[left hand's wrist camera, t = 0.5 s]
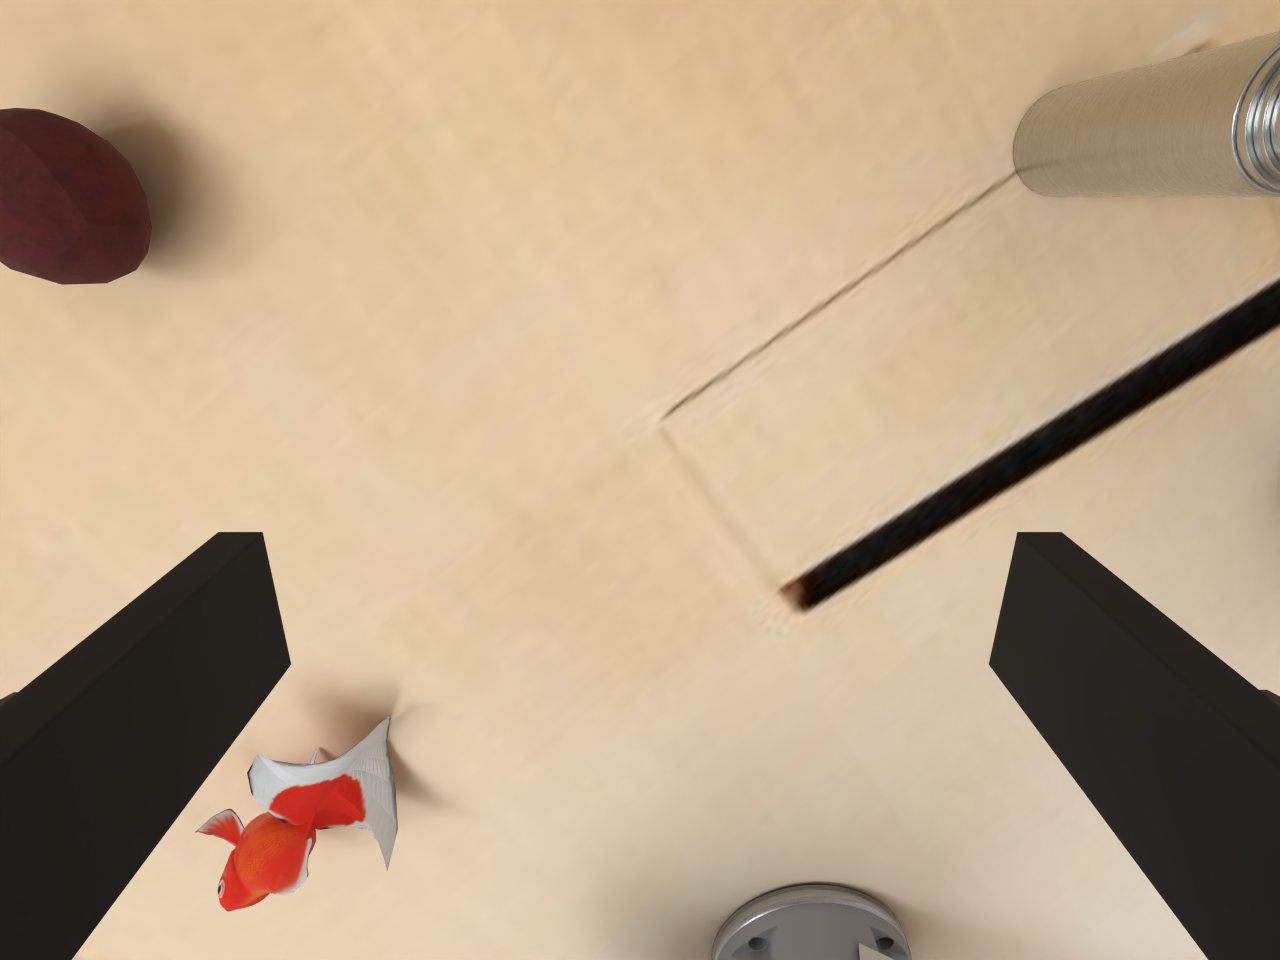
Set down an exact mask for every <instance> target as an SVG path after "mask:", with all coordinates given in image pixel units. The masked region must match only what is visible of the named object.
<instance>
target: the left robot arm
mask: <svg viewBox="0 0 1280 960" xmlns="http://www.w3.org/2000/svg"><path fill="white" fill-rule="evenodd" d="M290 665H291V661H290V657H289V652H288V648H287V643H286V638H285V634H284V629H283V624H282V620H281V615H280V611H279V606H278V601H277V597H276V592H275V588H274V583H273V578H272V574H271V569H270V564H269V560H268V555H267V551H266V546H265V541H264V537H263V532H218V533H217V534H216V535H214V536H213V537H212V538H211V539H209V540H208V541H207V542H206V543H204V544H203V545H202V546H201V547H199V548H198V549H197V550H196V551H194V552H193V553H192V554H191V555H189V556H188V557H187V558H186V559H184V560H183V561H182V562H181V563H179V564H178V565H177V566H176V567H174V568H173V569H172V570H171V571H169V572H168V573H167V574H166V575H164V576H163V577H162V578H161V579H159V580H158V581H157V582H156V583H154V584H153V585H152V586H151V587H149V588H148V589H147V590H146V591H144V592H143V593H142V594H141V595H139V596H138V597H137V598H136V599H134V600H133V601H132V602H131V603H129V604H128V605H127V606H126V607H124V608H123V609H122V610H121V611H119V612H118V613H117V614H116V615H114V616H113V617H112V618H111V619H109V620H108V621H107V622H106V623H104V624H103V625H102V626H101V627H99V628H98V629H97V630H95V631H94V632H93V633H92V634H90V635H89V636H88V637H87V638H85V639H84V640H83V641H82V642H80V643H79V644H78V645H77V646H75V647H74V648H73V649H72V650H70V651H69V652H68V653H67V654H65V655H64V656H63V657H62V658H60V659H59V660H58V661H57V662H55V663H54V664H53V665H52V666H50V667H49V668H48V669H47V670H45V671H44V672H43V673H42V674H40V675H39V676H38V677H37V678H35V679H34V680H33V681H32V682H30V683H29V684H28V685H27V686H25V687H24V688H23V689H22V690H20V691H19V692H14V693H12V694H10V695H8V696H6V697H4V698H2V699H1V700H0V960H72V958H73V957H74V956H75V954H76V953H77V952H78V950H79V949H80V948H81V946H82V945H83V944H84V942H85V941H86V940H87V938H88V937H89V936H90V934H91V933H92V932H93V930H94V929H95V928H96V926H97V925H98V923H99V922H100V921H101V919H102V918H103V917H104V915H105V914H106V913H107V911H108V910H109V909H110V907H111V906H112V905H113V903H114V902H115V901H116V899H117V898H118V897H119V895H120V894H121V893H122V891H123V890H124V889H125V887H126V886H127V884H128V883H129V882H130V880H131V879H132V878H133V876H134V875H135V874H136V872H137V871H138V870H139V868H140V867H141V866H142V864H143V863H144V862H145V860H146V859H147V858H148V856H149V855H150V854H151V852H152V851H153V850H154V848H155V847H156V845H157V844H158V843H159V841H160V840H161V839H162V837H163V836H164V835H165V833H166V832H167V831H168V829H169V828H170V827H171V825H172V824H173V823H174V821H175V820H176V819H177V817H178V816H179V815H180V813H181V812H182V811H183V809H184V808H185V806H186V805H187V804H188V802H189V801H190V800H191V798H192V797H193V796H194V794H195V793H196V792H197V790H198V789H199V788H200V786H201V785H202V784H203V782H204V781H205V780H206V778H207V777H208V776H209V774H210V773H211V772H212V770H213V769H214V767H215V766H216V765H217V763H218V762H219V761H220V759H221V758H222V757H223V755H224V754H225V753H226V751H227V750H228V749H229V747H230V746H231V745H232V743H233V742H234V741H235V739H236V738H237V737H238V735H239V734H240V733H241V731H242V730H243V728H244V727H245V726H246V724H247V723H248V722H249V720H250V719H251V718H252V716H253V715H254V714H255V712H256V711H257V710H258V708H259V707H260V706H261V704H262V703H263V702H264V700H265V699H266V698H267V696H268V695H269V694H270V692H271V691H272V689H273V688H274V687H275V685H276V684H277V683H278V681H279V680H280V679H281V677H282V676H283V675H284V673H285V672H286V671H287V669H288V668H289V667H290ZM989 665H990V667H991V668H992V669H993V671H994V672H995V673H996V675H997V676H998V677H999V679H1000V680H1001V681H1002V683H1003V684H1004V685H1005V687H1006V688H1007V689H1008V691H1009V692H1010V694H1011V695H1012V696H1013V698H1014V699H1015V700H1016V702H1017V703H1018V704H1019V706H1020V707H1021V708H1022V710H1023V711H1024V712H1025V714H1026V715H1027V716H1028V718H1029V719H1030V720H1031V722H1032V723H1033V724H1034V726H1035V727H1036V728H1037V730H1038V731H1039V733H1040V734H1041V735H1042V737H1043V738H1044V739H1045V741H1046V742H1047V743H1048V745H1049V746H1050V747H1051V749H1052V750H1053V751H1054V753H1055V754H1056V755H1057V757H1058V758H1059V759H1060V761H1061V762H1062V763H1063V765H1064V766H1065V767H1066V769H1067V770H1068V772H1069V773H1070V774H1071V776H1072V777H1073V778H1074V780H1075V781H1076V782H1077V784H1078V785H1079V786H1080V788H1081V789H1082V790H1083V792H1084V793H1085V794H1086V796H1087V797H1088V798H1089V800H1090V801H1091V802H1092V804H1093V805H1094V806H1095V808H1096V809H1097V811H1098V812H1099V813H1100V815H1101V816H1102V817H1103V819H1104V820H1105V821H1106V823H1107V824H1108V825H1109V827H1110V828H1111V829H1112V831H1113V832H1114V833H1115V835H1116V836H1117V837H1118V839H1119V840H1120V841H1121V843H1122V844H1123V845H1124V847H1125V848H1126V850H1127V851H1128V852H1129V854H1130V855H1131V856H1132V858H1133V859H1134V860H1135V862H1136V863H1137V864H1138V866H1139V867H1140V868H1141V870H1142V871H1143V872H1144V874H1145V875H1146V876H1147V878H1148V879H1149V880H1150V882H1151V883H1152V884H1153V886H1154V887H1155V889H1156V890H1157V891H1158V893H1159V894H1160V895H1161V897H1162V898H1163V899H1164V901H1165V902H1166V903H1167V905H1168V906H1169V907H1170V909H1171V910H1172V911H1173V913H1174V914H1175V915H1176V917H1177V918H1178V919H1179V921H1180V922H1181V923H1182V925H1183V926H1184V928H1185V929H1186V930H1187V932H1188V933H1189V934H1190V936H1191V937H1192V938H1193V940H1194V941H1195V942H1196V944H1197V945H1198V946H1199V948H1200V949H1201V950H1202V952H1203V953H1204V954H1205V956H1206V957H1207V958H1208V960H1280V696H1278V695H1276V694H1274V693H1272V692H1270V691H1268V690H1258V689H1257V688H1256V687H1255V686H1253V685H1252V684H1251V683H1250V682H1248V681H1247V680H1246V679H1245V678H1243V677H1242V676H1241V675H1240V674H1238V673H1237V672H1236V671H1235V670H1233V669H1232V668H1231V667H1230V666H1228V665H1227V664H1226V663H1225V662H1223V661H1222V660H1221V659H1220V658H1218V657H1217V656H1216V655H1215V654H1213V653H1212V652H1211V651H1210V650H1208V649H1207V648H1206V647H1205V646H1203V645H1202V644H1201V643H1200V642H1198V641H1197V640H1196V639H1195V638H1193V637H1192V636H1191V635H1190V634H1188V633H1187V632H1186V631H1185V630H1183V629H1182V628H1181V627H1179V626H1178V625H1177V624H1176V623H1174V622H1173V621H1172V620H1171V619H1169V618H1168V617H1167V616H1166V615H1164V614H1163V613H1162V612H1161V611H1159V610H1158V609H1157V608H1156V607H1154V606H1153V605H1152V604H1151V603H1149V602H1148V601H1147V600H1146V599H1144V598H1143V597H1142V596H1141V595H1139V594H1138V593H1137V592H1136V591H1134V590H1133V589H1132V588H1131V587H1129V586H1128V585H1127V584H1126V583H1124V582H1123V581H1122V580H1121V579H1119V578H1118V577H1117V576H1116V575H1114V574H1113V573H1112V572H1111V571H1109V570H1108V569H1107V568H1106V567H1104V566H1103V565H1102V564H1101V563H1099V562H1098V561H1097V560H1096V559H1094V558H1093V557H1092V556H1091V555H1089V554H1088V553H1087V552H1086V551H1084V550H1083V549H1082V548H1081V547H1079V546H1078V545H1077V544H1076V543H1074V542H1073V541H1072V540H1071V539H1069V538H1068V537H1067V536H1066V535H1064V534H1063V533H1062V532H1017V537H1016V541H1015V546H1014V551H1013V555H1012V560H1011V564H1010V569H1009V574H1008V578H1007V583H1006V588H1005V592H1004V597H1003V601H1002V606H1001V611H1000V615H999V620H998V624H997V629H996V634H995V638H994V643H993V648H992V652H991V657H990V661H989ZM712 960H911V953H910V950H909V947H908V944H907V941H906V938H905V935H904V932H903V930H902V927H901V925H900V923H899V921H898V920H897V918H896V917H895V916H894V914H893V913H892V912H891V911H890V910H889V909H888V908H887V907H886V906H884V905H883V904H882V903H880V902H879V901H877V900H876V899H874V898H872V897H870V896H868V895H866V894H864V893H861V892H858V891H856V890H852V889H848V888H844V887H839V886H831V885H803V886H795V887H789V888H785V889H781V890H777V891H774V892H771V893H768V894H766V895H763V896H761V897H759V898H757V899H755V900H753V901H751V902H749V903H748V904H746V905H744V906H743V907H741V908H740V909H739V910H737V911H736V912H735V913H734V914H733V915H732V916H731V917H730V918H729V919H728V920H727V921H726V922H725V923H724V925H723V926H722V927H721V929H720V931H719V932H718V934H717V936H716V939H715V941H714V945H713V950H712Z"/></svg>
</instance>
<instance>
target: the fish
mask: <svg viewBox="0 0 1280 960" xmlns="http://www.w3.org/2000/svg"><path fill="white" fill-rule="evenodd" d="M389 720H390V715H389V716H388V717H387V718H386V719H384V720H383V721H382V722H380V723H379V724H378V725H377V726H376V727H375V728H374V729H373V730H372V731H371V732H370V733H369V734H368V735H367V736H366V737H365V738H364V739H363V740H362V741H361V742H359V743H358V744H357V745H355V746H354V747H353V748H351V749H350V750H349V751H347V752H346V753H344V754H343V755H341V756H340V757H339V758H337V759H336V760H332V761H327V762H323V763H318V764H314V762H315V757H316V753H317V751H315V753H314V756H313V758H312V761H311V763H310V764H292V763H286V762H280V761H273V760H270V759H268V758H266V757H264V756H262V755H260V754H258V755H257V757H256V759H255V760H254V762H253V764H252V765H251V767H250V769H249V771H248V772H247V774H248V779H249V784H250V788H251V793H252V795H253V796H254V798H255V799H256V800H257V802H258V803H259V804H260V805H261V806H262V807H264V808H265V809H266V810H267V811H268V812H266V813H263V814H261V815H259V816H258V817H256V818H255V819H253V820H252V821H251V822H250V823H249V824H248V825H247V826H246V827H245V829H244V826H243V824H242V822H241V820H240V819H239V817H238V816H237V814H236V813H235V812H234V811H233V810H232V809H227V810H224V811H222V812H221V813H219V814H217V815H215V816H213V817H212V818H211V819H209V820H208V821H207V822H206V823H205V824H204V825H203V826H202V827H201V828H200V829H198V830H197V831H198V832H201V833H204V834H207V835H214V836H216V837H219V838H222V839H224V840H226V841H228V842H229V843H231V844H233V845H235V846H236V848H235V849H234V850H233V851H232V852H231V854H230V856H229V859H228V862H227V864H226V867H225V869H224V871H223V874H222V876H221V879H220V882H219V885H218V895H219V900H220V904H221V906H222V907H223V908H224V909H225V910H226V911H232V910H236V909H241V908H245V907H249V906H252V905H254V904H256V903H258V902H260V901H261V900H263V899H264V898H265V897H266V896H267V895H269V894H270V893H274V894H276V895H285V894H289V893H292V892H295V891H296V890H297V889H298V888H299V887H300V886H301V885H302V884H303V882H304V881H305V880H306V878H307V877H308V869H307V863H308V857H309V855H310V853H311V851H312V849H313V847H314V845H315V842H316V830H315V829H319V830H321V829H328V828H335V827H342V826H350V827H356V828H365V829H368V830H369V831H370V832H371V833H372V834H373V835H374V837H375V838H376V840H377V842H378V843H379V846H380V848H381V851H382V853H383V856H384V860H385V863H386V868H387V870H388V866H389V862H390V858H391V854H392V850H393V846H394V842H395V838H396V834H397V830H398V823H397V807H396V792H395V784H394V779H393V774H392V768H391V763H390V758H389V752H388V747H387V741H386V740H387V734H388V728H389ZM197 831H196V832H197Z"/></svg>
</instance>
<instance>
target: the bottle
mask: <svg viewBox="0 0 1280 960" xmlns="http://www.w3.org/2000/svg"><path fill="white" fill-rule="evenodd" d="M1013 160H1014V165H1015V168H1016V171H1017V173H1018V175H1019V177H1020V179H1021V180H1022V182H1023V183H1024V184H1025V185H1026V186H1027V187H1028V188H1030V189H1031V190H1032V191H1034V192H1036V193H1038V194H1042V195H1046V196H1176V197H1280V32H1276V33H1272V34H1268V35H1264V36H1260V37H1256V38H1252V39H1249V40H1245V41H1241V42H1237V43H1233V44H1229V45H1225V46H1221V47H1217V48H1213V49H1209V50H1206V51H1202V52H1198V53H1194V54H1190V55H1186V56H1182V57H1178V58H1174V59H1170V60H1167V61H1163V62H1159V63H1155V64H1151V65H1147V66H1143V67H1139V68H1135V69H1131V70H1127V71H1124V72H1120V73H1116V74H1112V75H1108V76H1104V77H1100V78H1096V79H1092V80H1088V81H1084V82H1081V83H1077V84H1073V85H1069V86H1065V87H1061V88H1058V89H1056V90H1053V91H1051V92H1050V93H1048V94H1046V95H1045V96H1043V97H1042V98H1041V99H1039V100H1038V101H1037V102H1036V103H1035V104H1034V105H1033V106H1032V107H1031V108H1030V109H1029V110H1028V112H1027V113H1026V115H1025V116H1024V118H1023V119H1022V121H1021V123H1020V125H1019V127H1018V130H1017V133H1016V136H1015V140H1014V145H1013Z"/></svg>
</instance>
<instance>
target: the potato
mask: <svg viewBox="0 0 1280 960" xmlns="http://www.w3.org/2000/svg"><path fill="white" fill-rule="evenodd" d="M150 234H151V222H150V217H149V212H148V206H147V201H146V196H145V193H144V191H143V189H142V187H141V185H140V183H139V181H138V179H137V177H136V175H135V173H134V171H133V169H132V167H131V165H130V163H129V162H128V161H127V160H126V159H125V158H124V157H123V156H122V155H121V154H120V153H119V152H118V151H117V150H116V149H115V148H114V147H113V146H112V145H111V144H110V143H108V142H107V141H105V140H104V139H102V138H101V137H99V136H98V135H96V134H95V133H93V132H92V131H90V130H89V129H87V128H86V127H84V126H83V125H81V124H79V123H77V122H75V121H72V120H70V119H67V118H64V117H62V116H59V115H56V114H53V113H50V112H46V111H43V110H39V109H24V108H12V109H1V110H0V262H1V263H3V264H4V265H6V266H7V267H8V268H10V269H12V270H15V271H19V272H22V273H25V274H29V275H32V276H35V277H39V278H42V279H45V280H49V281H52V282H55V283H59V284H96V283H108V282H111V281H113V280H115V279H118V278H120V277H122V276H125V275H127V274H129V273H131V272H133V271H135V270H137V268H138V267H139V265H140V264H141V262H142V260H143V259H144V257H145V256H146V254H147V253H148V248H149V241H150Z"/></svg>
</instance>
